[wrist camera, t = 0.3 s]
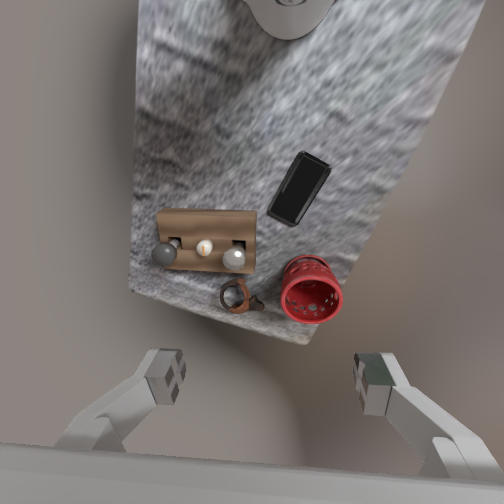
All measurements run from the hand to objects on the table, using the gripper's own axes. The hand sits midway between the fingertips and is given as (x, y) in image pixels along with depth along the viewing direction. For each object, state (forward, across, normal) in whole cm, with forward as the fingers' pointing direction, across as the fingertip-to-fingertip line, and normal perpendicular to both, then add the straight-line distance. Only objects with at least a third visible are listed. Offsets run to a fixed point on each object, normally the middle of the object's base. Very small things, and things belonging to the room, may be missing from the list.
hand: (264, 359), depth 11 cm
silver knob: (+41, +9, +12) cm, 44 cm away
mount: (+46, +16, +11) cm, 50 cm away
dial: (+41, +16, +11) cm, 46 cm away
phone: (+47, -5, +1) cm, 47 cm away
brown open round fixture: (+47, +10, +28) cm, 56 cm away
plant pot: (+47, -7, +23) cm, 52 cm away
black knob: (+41, +24, +11) cm, 49 cm away
